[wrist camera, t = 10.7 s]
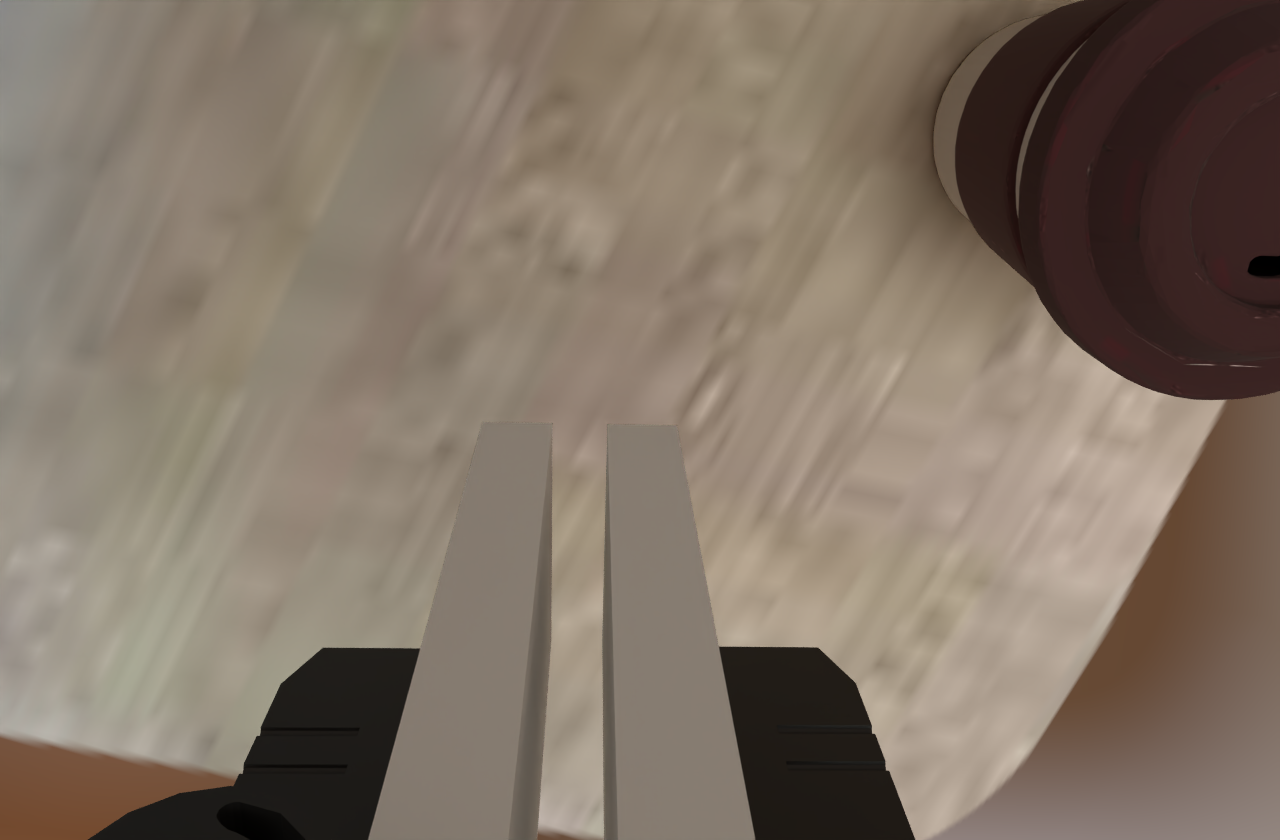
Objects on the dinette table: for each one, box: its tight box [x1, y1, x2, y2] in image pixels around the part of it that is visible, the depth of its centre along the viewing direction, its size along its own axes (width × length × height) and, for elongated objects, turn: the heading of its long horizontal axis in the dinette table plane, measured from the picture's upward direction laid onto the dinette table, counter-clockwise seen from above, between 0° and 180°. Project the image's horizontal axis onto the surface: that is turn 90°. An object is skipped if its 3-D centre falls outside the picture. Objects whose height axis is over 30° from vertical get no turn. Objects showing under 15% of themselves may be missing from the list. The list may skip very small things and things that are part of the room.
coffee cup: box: [933, 0, 1280, 400], centre depth 30 cm, size 10×10×15 cm
